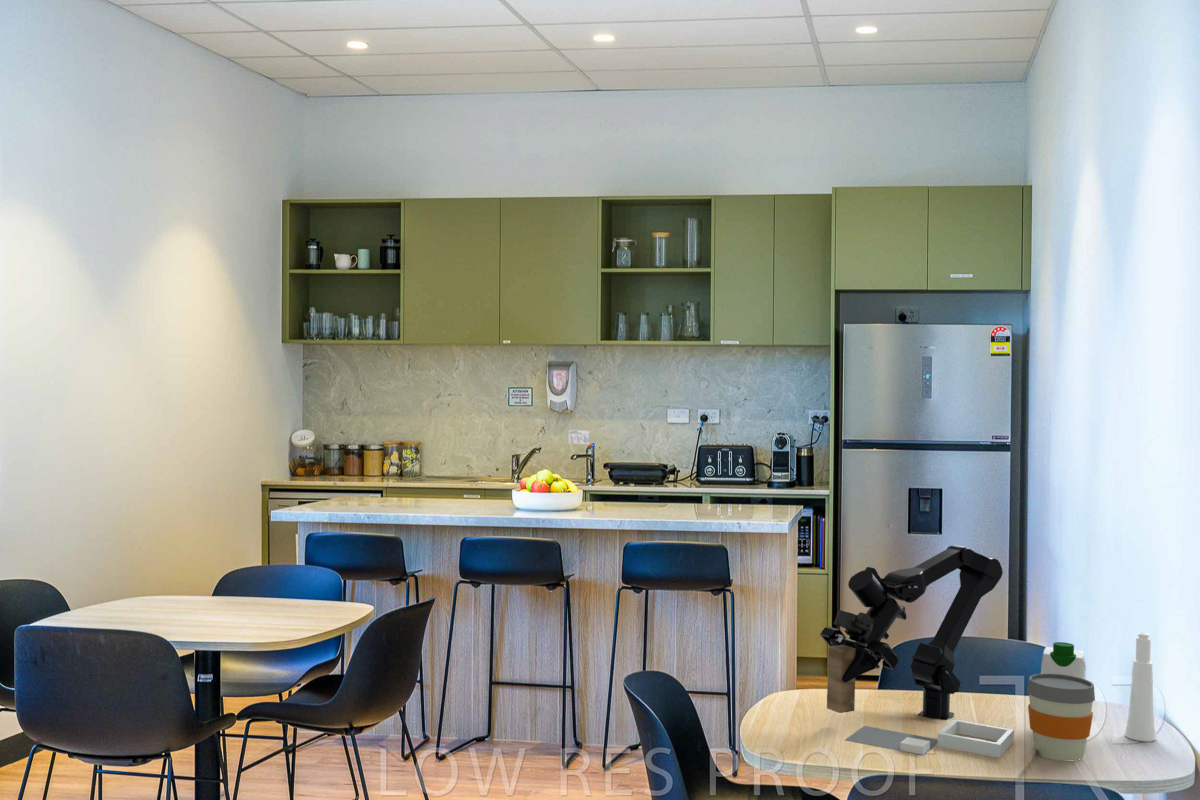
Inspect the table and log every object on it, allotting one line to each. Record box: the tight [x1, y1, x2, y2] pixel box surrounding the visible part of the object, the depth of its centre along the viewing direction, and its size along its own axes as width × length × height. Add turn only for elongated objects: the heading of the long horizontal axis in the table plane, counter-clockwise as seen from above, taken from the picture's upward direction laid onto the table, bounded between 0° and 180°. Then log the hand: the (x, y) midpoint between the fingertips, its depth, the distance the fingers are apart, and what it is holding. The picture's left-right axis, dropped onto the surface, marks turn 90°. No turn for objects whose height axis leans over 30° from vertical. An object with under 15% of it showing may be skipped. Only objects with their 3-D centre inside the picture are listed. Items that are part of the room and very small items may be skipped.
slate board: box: [844, 725, 938, 756], centre depth 231 cm, size 12×16×2 cm
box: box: [936, 718, 1015, 759], centre depth 229 cm, size 12×12×4 cm
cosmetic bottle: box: [1124, 632, 1157, 743], centre depth 242 cm, size 6×6×22 cm
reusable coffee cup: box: [1026, 673, 1096, 761], centre depth 228 cm, size 13×13×15 cm
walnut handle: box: [826, 645, 856, 714], centre depth 239 cm, size 4×4×13 cm
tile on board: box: [900, 737, 930, 756], centre depth 225 cm, size 4×4×2 cm
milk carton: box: [1040, 641, 1087, 680], centre depth 241 cm, size 9×9×20 cm
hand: (836, 678), depth 239 cm, fingers closed on walnut handle, 4 cm apart
